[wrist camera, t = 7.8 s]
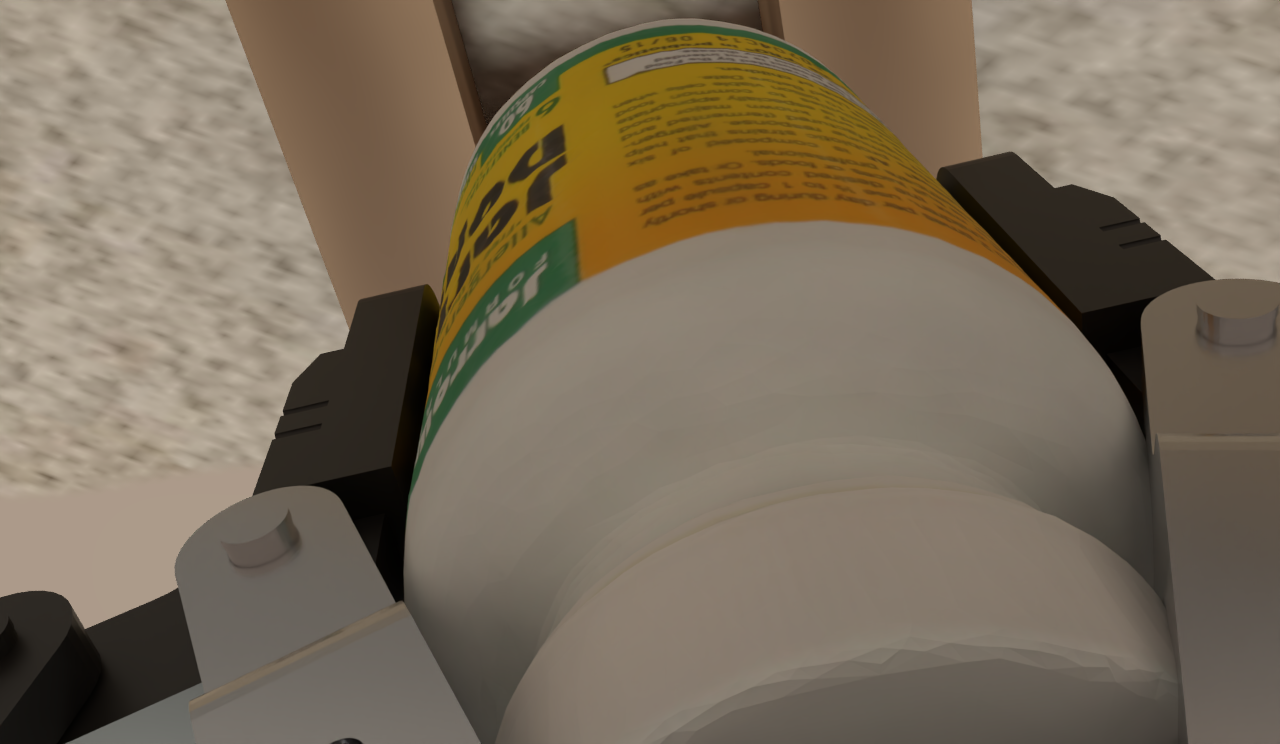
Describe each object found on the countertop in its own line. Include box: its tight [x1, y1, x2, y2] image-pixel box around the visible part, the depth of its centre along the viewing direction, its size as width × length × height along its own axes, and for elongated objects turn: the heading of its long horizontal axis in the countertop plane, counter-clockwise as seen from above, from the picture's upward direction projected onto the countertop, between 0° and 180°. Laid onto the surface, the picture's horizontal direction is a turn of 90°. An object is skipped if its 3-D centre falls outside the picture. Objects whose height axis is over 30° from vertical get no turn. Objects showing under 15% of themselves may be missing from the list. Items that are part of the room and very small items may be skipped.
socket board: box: [226, 0, 982, 330], centre depth 24 cm, size 14×12×3 cm
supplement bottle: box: [404, 18, 1178, 744], centre depth 10 cm, size 5×5×10 cm
